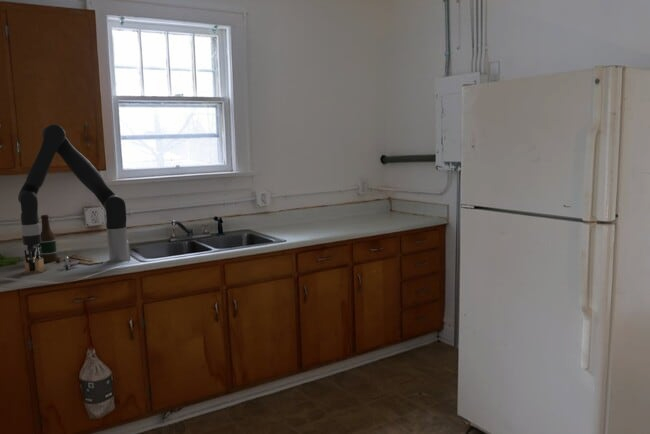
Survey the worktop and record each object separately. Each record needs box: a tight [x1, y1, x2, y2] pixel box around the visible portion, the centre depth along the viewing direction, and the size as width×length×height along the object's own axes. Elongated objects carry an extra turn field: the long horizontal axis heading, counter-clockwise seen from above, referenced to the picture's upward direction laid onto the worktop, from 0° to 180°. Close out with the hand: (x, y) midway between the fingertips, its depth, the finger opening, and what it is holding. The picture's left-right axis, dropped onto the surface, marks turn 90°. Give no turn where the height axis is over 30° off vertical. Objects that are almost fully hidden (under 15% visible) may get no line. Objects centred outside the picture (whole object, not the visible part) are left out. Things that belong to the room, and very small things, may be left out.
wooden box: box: [21, 258, 50, 275], centre depth 248 cm, size 9×9×7 cm
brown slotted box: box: [23, 257, 45, 272], centre depth 248 cm, size 6×6×5 cm
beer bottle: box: [38, 214, 58, 264], centre depth 273 cm, size 8×8×24 cm
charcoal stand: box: [56, 256, 79, 272], centre depth 252 cm, size 7×7×6 cm
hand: (35, 269), depth 248 cm, fingers closed on brown slotted box, 6 cm apart
